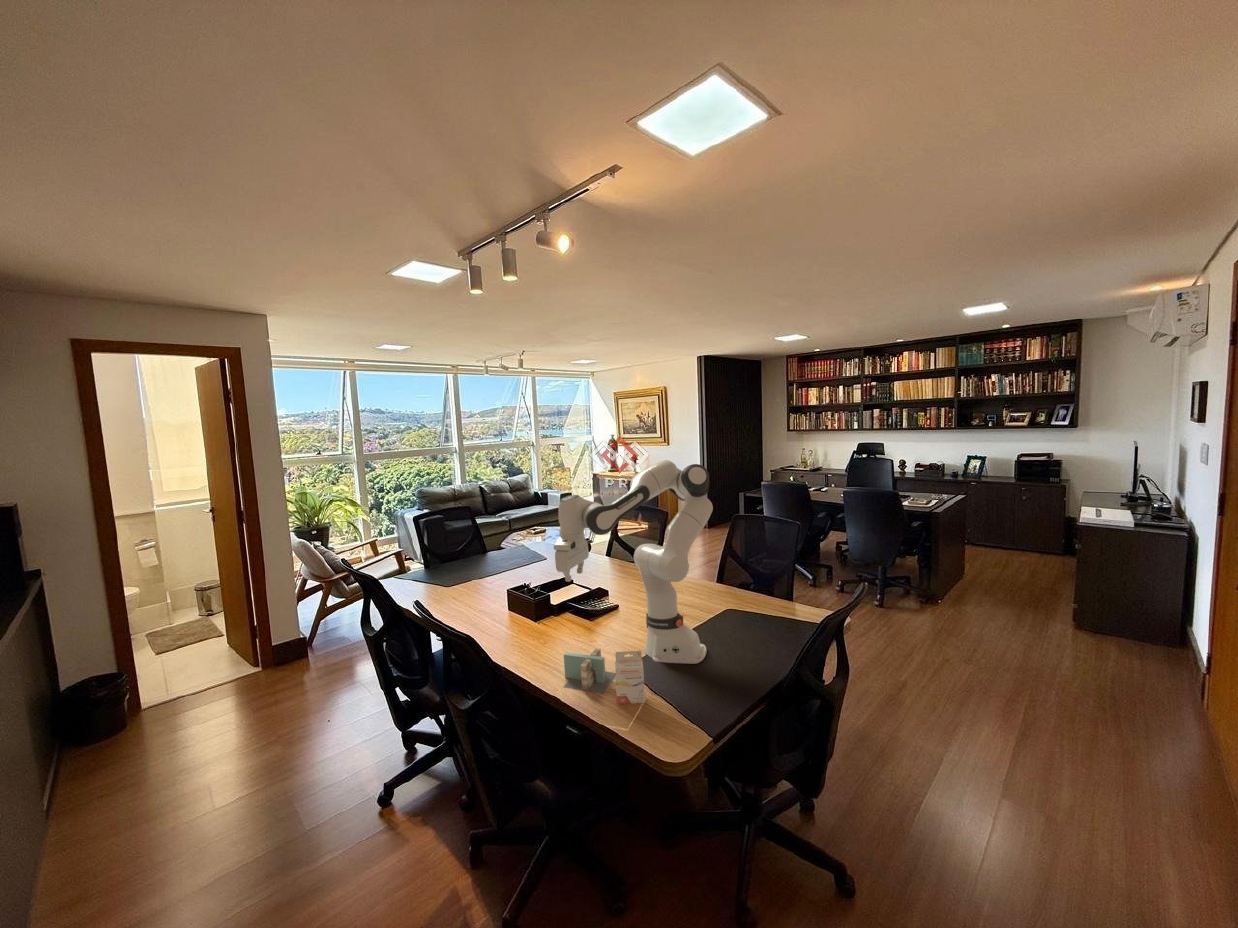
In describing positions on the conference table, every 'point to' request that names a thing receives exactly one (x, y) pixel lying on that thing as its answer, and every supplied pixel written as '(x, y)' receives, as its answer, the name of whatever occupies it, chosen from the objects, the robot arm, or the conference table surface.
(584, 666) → the stone wall model
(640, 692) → the ink cartridge box
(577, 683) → the felt mat
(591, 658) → the teal plate
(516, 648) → the conference table surface
